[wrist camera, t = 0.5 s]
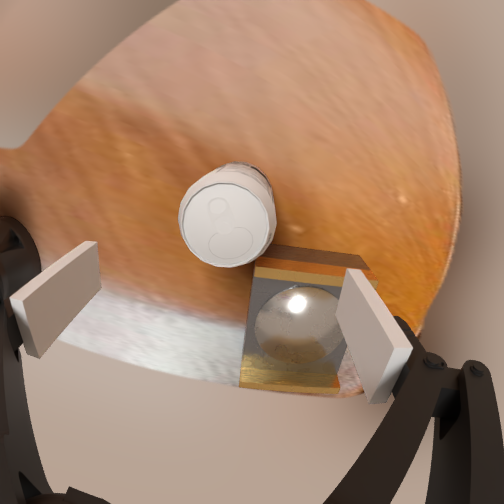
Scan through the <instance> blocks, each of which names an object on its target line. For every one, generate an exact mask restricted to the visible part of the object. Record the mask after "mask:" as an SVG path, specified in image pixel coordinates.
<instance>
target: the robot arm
mask: <svg viewBox="0 0 504 504" xmlns="http://www.w3.org/2000/svg"><path fill="white" fill-rule="evenodd" d="M101 288H102V287H101V279H100V269H99V258H98V246H97V242H92V241H85V242H83V243H82V244H80V245H79V246H77V247H76V248H74V249H73V250H72V251H70V252H69V253H67V254H66V255H65V256H63V257H62V258H60V259H59V260H58V261H56V262H55V263H53V264H52V265H51V266H49V267H48V268H47V269H45V270H44V271H43V272H41V268H40V260H39V256H38V252H37V249H36V246H35V244H34V242H33V240H32V238H31V236H30V234H29V233H28V231H27V230H26V229H25V227H24V226H23V225H22V224H21V223H20V222H18V221H17V220H16V219H14V218H12V217H8V216H3V217H0V504H110V503H109V502H107V501H105V500H104V499H101V498H98V497H95V496H93V495H90V494H87V493H84V492H82V491H79V490H77V489H74V488H72V487H69V488H68V490H67V492H66V494H63V493H53V491H52V490H51V488H50V486H49V484H48V482H47V479H46V477H45V473H44V470H43V467H42V464H41V460H40V457H39V453H38V450H37V446H36V442H35V438H34V434H33V429H32V425H31V421H30V415H29V410H28V404H27V398H26V392H25V385H24V378H23V369H22V360H21V353H20V351H19V347H20V346H21V345H22V343H23V344H24V347H25V350H26V353H27V354H28V355H31V356H34V357H36V358H39V359H40V358H41V357H42V355H43V354H44V353H45V352H46V350H47V349H48V348H49V347H50V346H51V344H52V343H53V342H54V341H55V340H56V339H57V337H58V336H59V335H60V334H61V333H62V332H63V330H64V329H65V328H66V327H67V326H68V325H69V323H70V322H71V321H72V320H73V319H74V318H75V317H76V315H77V314H78V313H79V312H80V311H81V310H82V309H83V308H84V307H85V305H86V304H87V303H88V302H89V301H90V300H91V299H92V298H93V297H94V296H95V294H96V293H97V292H98V291H99V290H100V289H101ZM335 315H336V318H337V320H338V323H339V325H340V328H341V330H342V333H343V335H344V338H345V341H346V343H347V346H348V348H349V351H350V354H351V356H352V359H353V362H354V365H355V367H356V370H357V373H358V375H359V378H360V381H361V384H362V387H363V389H364V392H365V395H366V398H367V401H368V404H377V403H386V402H387V400H388V398H389V396H390V395H391V393H393V396H394V398H395V400H394V402H393V404H392V405H391V407H390V409H389V411H388V412H387V414H386V416H385V417H384V419H383V421H382V422H381V424H380V426H379V427H378V429H377V430H376V432H375V434H374V435H373V437H372V438H371V440H370V441H369V443H368V444H367V446H366V447H365V449H364V450H363V452H362V453H361V455H360V456H359V457H358V459H357V460H356V462H355V463H354V464H353V466H352V467H351V469H350V470H349V471H348V473H347V474H346V475H345V477H344V478H343V479H342V481H341V482H340V483H339V484H338V486H337V487H336V488H335V490H334V491H333V492H332V493H331V495H330V496H329V497H328V498H327V499H326V501H325V502H324V503H323V504H390V503H391V501H392V499H393V497H394V496H395V494H396V492H397V490H398V488H399V487H400V485H401V483H402V481H403V479H404V477H405V475H406V473H407V471H408V469H409V467H410V465H411V463H412V461H413V459H414V457H415V454H416V452H417V450H418V448H419V445H420V443H421V441H422V439H423V436H424V434H425V431H426V429H427V426H428V424H429V421H430V419H431V417H435V422H434V438H433V451H432V461H431V470H430V477H429V485H428V491H427V496H426V502H425V504H504V446H503V439H502V431H501V424H500V417H499V412H498V406H497V401H496V396H495V391H494V387H493V382H492V378H491V374H490V371H489V369H488V368H487V367H486V366H485V365H484V364H483V363H481V362H478V361H475V360H468V361H466V362H465V363H464V365H463V367H462V368H461V370H460V369H454V368H448V367H447V364H446V362H445V361H444V360H443V359H442V358H441V357H440V356H438V355H436V354H434V353H430V352H426V351H425V349H424V348H423V346H422V345H421V343H420V342H419V340H418V339H417V337H416V336H415V334H414V333H413V331H411V328H410V327H409V326H408V324H407V323H406V322H405V321H404V320H403V319H401V318H400V317H399V316H392V314H391V313H390V311H389V310H388V309H387V307H386V306H385V304H384V303H383V301H382V300H381V298H380V297H379V295H378V294H377V292H376V291H375V290H374V288H373V287H372V285H371V284H370V282H369V281H368V280H367V278H366V277H365V275H364V274H363V273H362V271H361V270H360V269H349V268H347V269H346V274H345V278H344V282H343V286H342V290H341V294H340V298H339V302H338V306H337V310H336V314H335Z"/></svg>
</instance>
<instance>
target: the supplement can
mask: <svg viewBox="0 0 504 504" xmlns="http://www.w3.org/2000/svg"><path fill="white" fill-rule="evenodd" d="M178 222H179V227H180V232H181V236H182V237H183V239H184V241H185V243H186V244H187V246H188V248H189V249H190V251H191V252H192V253H193V254H195V255H196V256H197V257H198V258H199V259H201V260H202V261H204V262H206V263H209V264H211V265H214V266H216V267H236V266H240V265H243V264H247V263H250V262H252V261H253V260H254V259H256V258H257V257H259V256H260V255H262V254H263V253H264V251H265V250H266V249H267V247H268V246H269V244H270V243H271V241H272V240H273V236H274V233H275V229H276V225H277V222H276V213H275V205H274V199H273V193H272V187H271V184H270V182H269V180H268V178H267V176H266V174H265V173H264V172H263V171H261V170H260V169H259V168H258V167H257V166H255V165H252V164H250V163H247V162H235V161H234V162H231V163H228V164H225V165H222V166H220V167H219V168H217V169H215V170H213V171H212V172H210V173H208V174H207V175H205V176H203V177H202V178H201V179H199V180H198V181H197V182H196V183H195V184H193V185H192V186H191V187H190V188H189V189H188V191H187V192H186V194H185V196H184V198H183V199H182V201H181V203H180V209H179V216H178Z"/></svg>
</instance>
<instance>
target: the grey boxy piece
mask: <svg viewBox="0 0 504 504" xmlns="http://www.w3.org/2000/svg"><path fill="white" fill-rule="evenodd" d="M347 268H349V269H360V270H361V271H362V273H363V274H364V275H365V277H366V278H367V280H368V281H369V282H370V284H371V285H372V287H373V288H374V290H376V288H377V285H378V279H377V278H376V277H375V275H374V274H373V273H372V271H371V270H370V269H369V267H368V266H367V265H366V263H365V262H364V261H363V259H362V258H361V257H360V255H352V254H345V253H337V252H330V251H322V250H314V249H307V248H299V247H291V246H283V245H276V244H269V246H268V247H267V249H266V250H265V251H264V253H263V254H262V255H260V256H259V257H257V258H256V259H255V262H254V270H253V277H252V285H251V292H250V299H249V307H248V314H247V322H246V329H245V337H244V344H243V351H242V361H241V371H240V381H239V387H242V388H251V389H261V390H272V391H285V392H301V393H326V394H338V393H339V390H340V384H339V381H338V377H337V372H338V370H339V367H340V364H341V362H342V359H343V356H344V353H345V351H346V348H347V343H346V341H345V338H344V335H343V333H342V330H341V328H340V325H339V323H338V320H337V318H336V315H335V314H336V310H337V306H338V302H339V298H340V294H341V290H342V286H343V282H344V278H345V274H346V269H347Z"/></svg>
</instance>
